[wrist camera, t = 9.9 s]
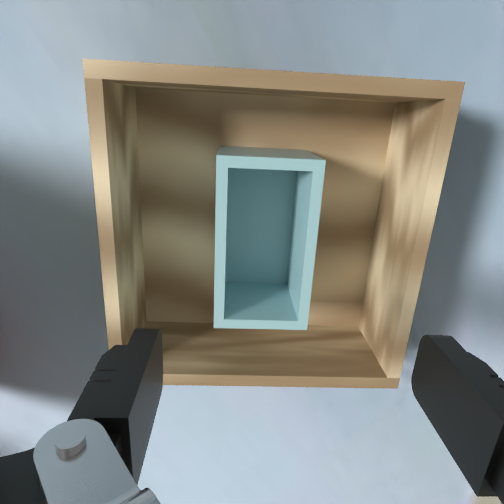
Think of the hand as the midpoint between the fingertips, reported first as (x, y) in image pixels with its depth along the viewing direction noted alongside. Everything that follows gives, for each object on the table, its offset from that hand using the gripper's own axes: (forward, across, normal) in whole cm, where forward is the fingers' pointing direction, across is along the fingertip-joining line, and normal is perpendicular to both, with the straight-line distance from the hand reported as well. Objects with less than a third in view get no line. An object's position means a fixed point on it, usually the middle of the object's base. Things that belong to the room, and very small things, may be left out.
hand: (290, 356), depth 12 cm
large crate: (+17, 0, 0) cm, 17 cm away
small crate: (+16, 0, 0) cm, 16 cm away
